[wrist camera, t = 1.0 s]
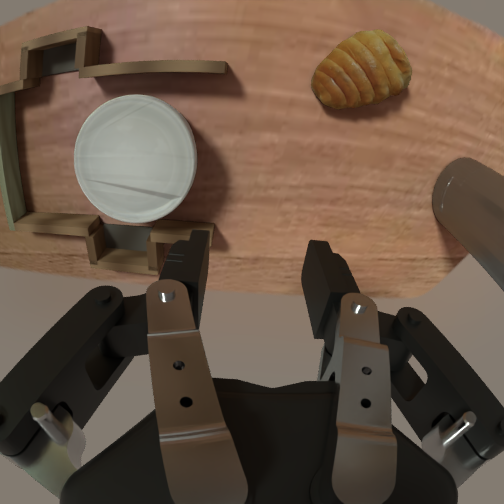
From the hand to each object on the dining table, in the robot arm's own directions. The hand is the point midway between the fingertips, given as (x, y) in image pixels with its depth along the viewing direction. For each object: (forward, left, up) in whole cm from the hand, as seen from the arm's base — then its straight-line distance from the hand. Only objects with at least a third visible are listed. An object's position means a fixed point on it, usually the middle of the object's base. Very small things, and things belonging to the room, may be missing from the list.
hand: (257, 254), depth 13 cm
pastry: (-9, -10, -18) cm, 22 cm away
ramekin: (+10, 0, -18) cm, 20 cm away
